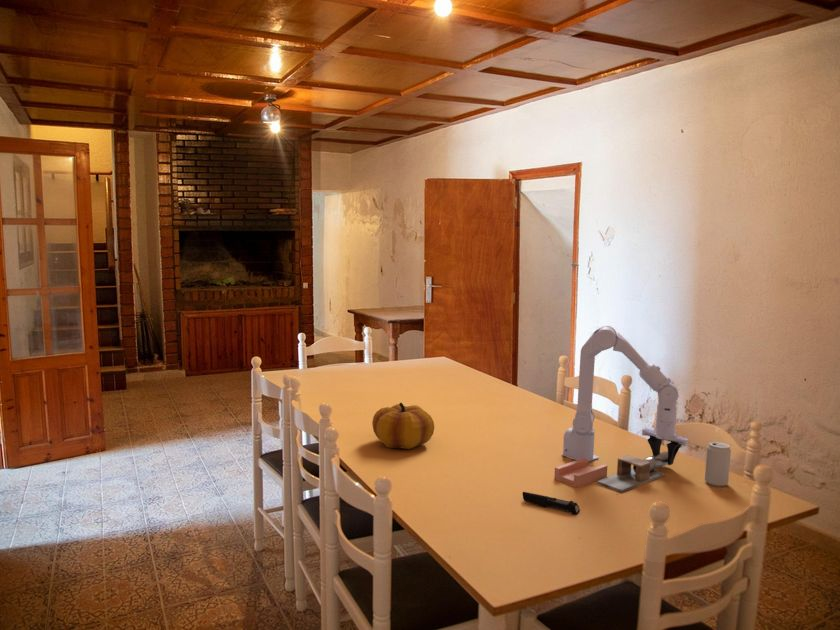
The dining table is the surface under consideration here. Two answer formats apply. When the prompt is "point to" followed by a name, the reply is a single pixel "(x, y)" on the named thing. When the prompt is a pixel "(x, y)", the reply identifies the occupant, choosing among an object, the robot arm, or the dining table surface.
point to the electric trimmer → (551, 502)
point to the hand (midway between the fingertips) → (663, 462)
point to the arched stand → (630, 474)
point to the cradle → (580, 473)
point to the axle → (656, 461)
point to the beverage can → (717, 464)
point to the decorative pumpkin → (403, 426)
